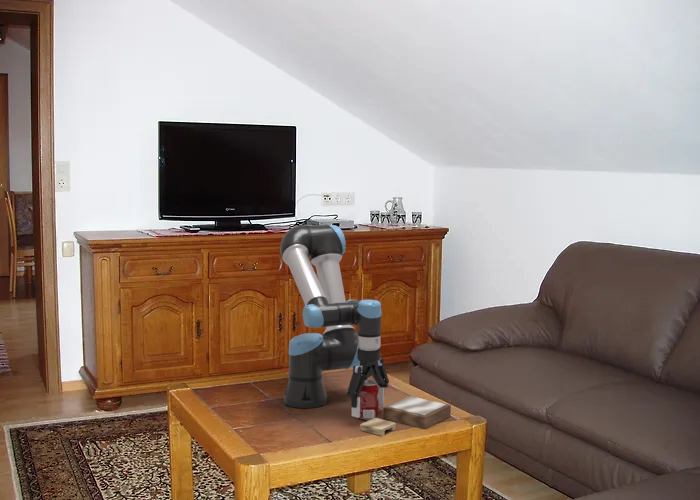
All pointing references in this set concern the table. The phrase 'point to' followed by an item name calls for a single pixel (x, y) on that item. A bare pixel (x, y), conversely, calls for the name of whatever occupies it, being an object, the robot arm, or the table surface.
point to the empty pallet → (377, 426)
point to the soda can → (369, 400)
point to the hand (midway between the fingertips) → (368, 411)
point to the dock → (417, 412)
